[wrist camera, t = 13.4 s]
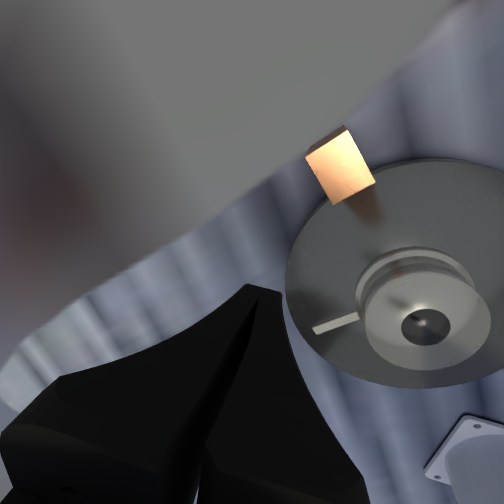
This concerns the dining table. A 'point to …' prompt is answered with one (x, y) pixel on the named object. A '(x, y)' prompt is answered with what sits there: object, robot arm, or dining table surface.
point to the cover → (421, 309)
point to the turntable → (390, 238)
